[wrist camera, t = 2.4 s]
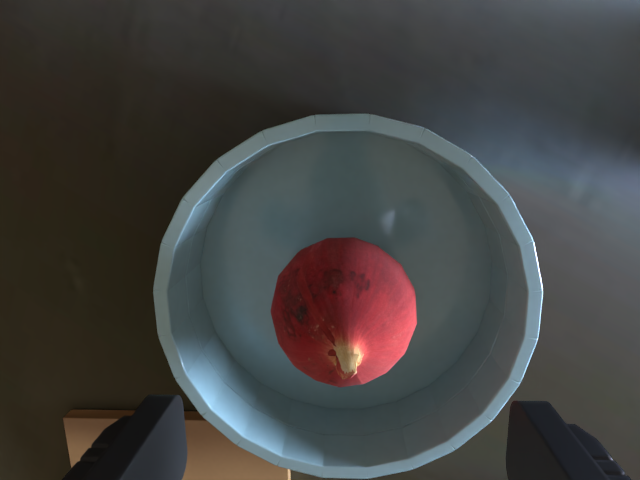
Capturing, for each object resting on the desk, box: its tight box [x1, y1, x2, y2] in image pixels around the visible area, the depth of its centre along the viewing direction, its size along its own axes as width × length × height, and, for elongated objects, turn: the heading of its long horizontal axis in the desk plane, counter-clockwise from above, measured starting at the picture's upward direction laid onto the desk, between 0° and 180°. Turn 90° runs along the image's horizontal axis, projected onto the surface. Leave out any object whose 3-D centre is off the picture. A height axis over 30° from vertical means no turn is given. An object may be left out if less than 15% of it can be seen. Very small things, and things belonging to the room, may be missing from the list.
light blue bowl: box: [153, 113, 543, 479], centre depth 20 cm, size 15×15×4 cm
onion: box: [270, 237, 417, 388], centre depth 18 cm, size 6×6×8 cm
